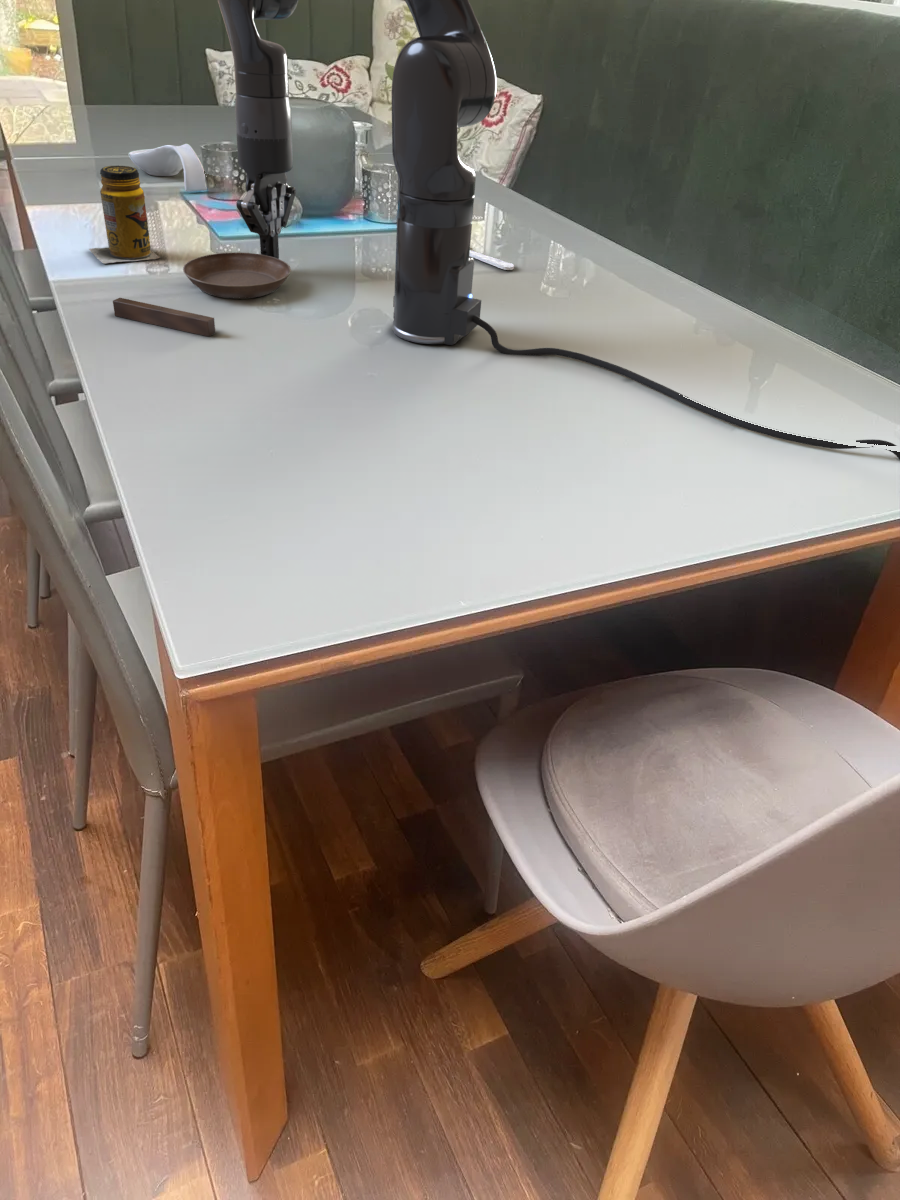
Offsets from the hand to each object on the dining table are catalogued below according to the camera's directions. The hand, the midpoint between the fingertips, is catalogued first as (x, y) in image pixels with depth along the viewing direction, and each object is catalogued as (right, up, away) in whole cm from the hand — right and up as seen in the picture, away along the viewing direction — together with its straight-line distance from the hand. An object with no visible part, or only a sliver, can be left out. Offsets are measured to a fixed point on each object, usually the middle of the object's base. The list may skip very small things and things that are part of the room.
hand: (270, 260), depth 133 cm
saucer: (-3, -6, -6) cm, 9 cm away
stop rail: (-9, -16, -20) cm, 27 cm away
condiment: (-22, +1, +2) cm, 23 cm away
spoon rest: (-28, +32, +43) cm, 61 cm away
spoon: (+30, +6, +15) cm, 35 cm away
